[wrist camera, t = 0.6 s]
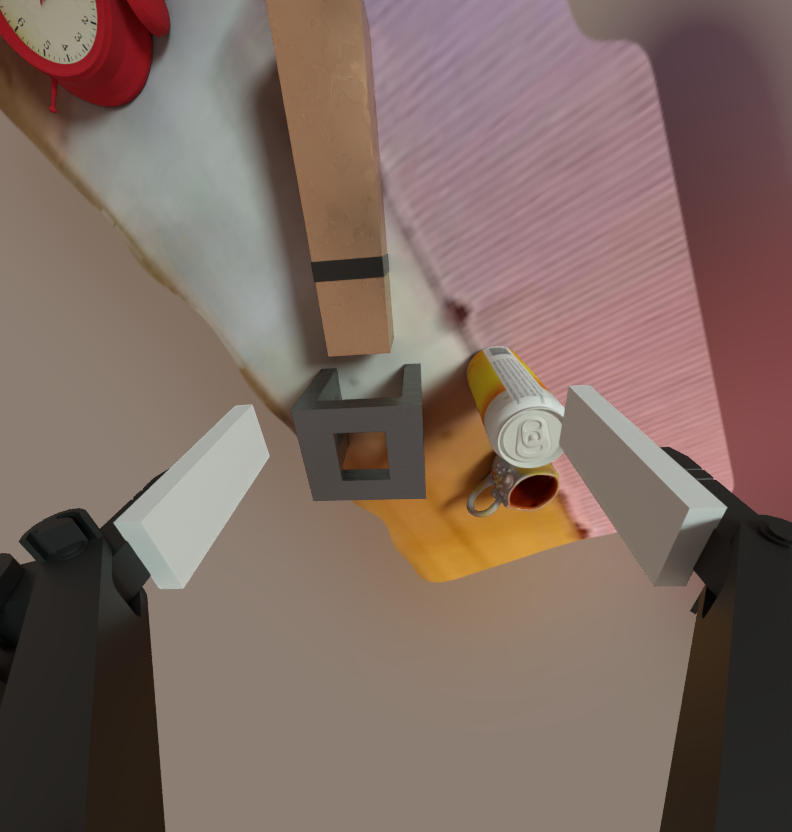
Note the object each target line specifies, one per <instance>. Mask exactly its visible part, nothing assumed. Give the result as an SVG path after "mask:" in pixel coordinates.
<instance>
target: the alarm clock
mask: <svg viewBox="0 0 792 832" xmlns="http://www.w3.org/2000/svg"><path fill="white" fill-rule="evenodd" d="M169 29H170V18H169V13H168V9H167V6H166V3H165V0H0V34H1V36H2V37H3V38H4V39H5V40H6V42H7V43H8V44H9V45H10V46H11V47H12V48H13V49H14V50H15V51H16V52H17V53H18V54H19V55H20V56H21V57H23V58H24V59H25V60H26V61H27V62H28V63H30V64H31V65H32V66H33V67H35V68H36V69H38V70H39V71H41V72H43V73H44V74H46V75H48V76H50V77H51V78H52V87H51V93H52V99H51V106H49V109H50V111H51V112H53V113H57V110H56V109H55V102H56V96H57V84H58V83H59V84H60V85H61V86H63V87H64V88H65V89H66V90H68V91H69V92H71V93H72V94H74V95H75V96H77V97H79V98H81V99H83V100H85V101H87V102H90V103H92V104H95V105H99V106H105V107H115V106H120V105H123V104H126V103H128V102H129V101H131V100H132V99H133V98H135V97H136V96H137V95H138V94H139V92H140V91H141V90H142V88H143V87H144V85H145V82H146V80H147V77H148V75H149V71H150V65H151V58H152V40H151V33H152V34H154V35H155V36H157V37H161V36H165V35H166V34H167V33H168V32H169Z"/></svg>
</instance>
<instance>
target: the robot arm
mask: <svg viewBox="0 0 792 832" xmlns="http://www.w3.org/2000/svg"><path fill="white" fill-rule="evenodd" d="M559 445H560V447H561V448H562V450H563V451H564V453H565V454H566V456H567V457H568V459H569V460H570V462H571V463H572V465H573V466H574V468H575V469H576V471H577V472H578V473H579V475H580V476H581V478H582V479H583V481H584V482H585V484H586V485H587V487H588V488H589V490H590V491H591V493H592V494H593V496H594V497H595V499H596V500H597V502H598V503H599V505H600V506H601V508H602V509H603V511H604V512H605V514H606V515H607V517H608V518H609V520H610V521H611V523H612V524H613V526H614V527H615V529H616V530H617V532H618V533H619V535H620V536H621V538H622V539H623V540H624V542H625V543H626V545H627V546H628V548H629V550H630V551H631V553H632V554H633V555H634V557H635V559H636V560H637V561H638V563H639V564H640V566H641V567H642V569H643V570H644V572H645V573H646V575H647V576H648V578H649V579H650V581H651V582H652V584H653V585H654V586H686V584H687V583H688V581H689V579H690V577H691V575H692V573H693V571H695V572H696V573H697V575H698V576H699V577H700V578H701V580H702V581H703V582H704V583H705V586H704V588H703V590H702V591H701V593H700V595H699V597H698V598H697V600H696V602H695V603H694V605H693V607H692V609H691V612H693V613H695V614H696V613H697V616H696V622H695V628H694V634H693V640H692V645H691V651H690V657H689V663H688V669H687V675H686V681H685V686H684V692H683V698H682V705H681V711H680V716H679V722H678V728H677V733H676V739H675V745H674V751H673V757H672V763H671V768H670V774H669V780H668V786H667V792H666V798H665V803H664V809H663V815H662V821H661V827H660V832H792V522H789V521H787V520H784V519H781V518H777V517H773V516H768V515H758V514H757V513H756V512H754V511H753V510H752V509H751V508H749V507H748V506H747V505H746V504H745V503H743V502H742V501H741V500H740V499H739V498H737V497H736V496H735V495H734V494H733V493H731V492H730V491H729V490H728V489H727V488H725V487H724V486H723V485H722V484H721V483H719V482H718V481H717V480H713V477H712V476H711V475H710V474H708V473H707V472H706V471H705V470H702V468H701V467H700V466H699V465H698V464H696V463H695V462H694V461H693V460H692V459H690V458H689V457H688V456H686V455H684V454H682V453H680V452H678V451H676V450H674V449H672V448H670V447H659V446H658V445H656V444H655V443H654V442H653V441H652V440H651V439H650V438H649V437H647V436H646V435H645V434H644V433H643V432H642V431H641V430H640V429H638V428H637V427H636V426H635V425H634V424H633V423H632V422H631V421H629V420H628V419H627V418H626V417H625V416H624V415H623V414H621V413H620V412H619V411H618V410H617V409H616V408H615V407H614V406H612V405H611V404H610V403H609V402H608V401H607V400H606V399H605V398H603V397H602V396H601V395H600V394H599V393H598V392H597V391H596V390H594V389H593V388H592V387H591V386H590V385H578V386H569V388H568V394H567V399H566V405H565V411H564V416H563V422H562V428H561V433H560V439H559ZM269 457H270V455H269V452H268V449H267V447H266V444H265V440H264V438H263V435H262V432H261V429H260V426H259V423H258V420H257V417H256V414H255V411H254V408H253V405H252V404H251V405H236V406H234V407H233V409H231V410H230V411H229V412H228V413H227V414H226V415H225V416H224V417H223V418H222V419H221V420H220V421H219V422H218V423H217V424H216V425H215V426H214V427H213V428H211V429H210V430H209V431H208V432H207V433H206V434H205V435H204V436H203V437H202V438H201V439H200V440H199V441H198V442H197V443H196V444H195V445H194V446H193V447H192V448H191V449H190V450H189V451H188V452H187V453H185V454H184V455H183V456H182V457H181V459H179V460H178V461H177V462H176V463H175V464H174V465H173V466H172V467H171V468H169V469H168V470H166V471H164V472H163V473H161V474H160V475H158V476H156V477H155V478H154V479H152V480H151V481H150V482H149V483H148V484H147V485H146V486H145V487H144V488H143V491H140V492H139V493H138V494H136V495H135V496H134V498H133V500H130V501H129V502H128V503H127V504H126V505H125V506H124V507H123V508H122V509H121V510H119V511H118V512H117V513H116V514H115V515H114V516H113V517H112V518H111V519H110V520H109V521H108V522H107V523H106V524H105V525H104V526H102V527H101V528H100V529H99V528H98V526H97V525H96V523H95V522H94V521H93V519H92V518H91V517H90V516H89V514H88V513H87V511H86V510H84V509H80V508H78V509H69V510H66V511H63V512H60V513H57V514H55V515H53V516H50V517H48V518H46V519H44V520H43V521H41V522H39V523H38V524H36V525H35V526H33V527H32V528H31V529H29V530H28V531H27V532H26V533H25V534H24V535H23V536H22V537H21V539H20V540H19V542H20V544H21V545H22V546H23V547H24V548H25V549H26V550H27V551H28V552H29V553H30V554H31V555H32V557H33V558H34V559H35V560H36V561H33V562H29V563H25V564H22V565H20V564H19V563H18V562H17V561H16V560H15V559H14V558H13V556H11V554H7V553H1V554H0V832H165V821H164V808H163V795H162V782H161V770H160V756H159V743H158V730H157V718H156V705H155V691H154V678H153V666H152V654H151V653H152V652H151V639H150V627H149V614H148V601H147V594H146V592H145V590H144V589H143V587H142V586H143V585H144V584H145V582H146V581H147V580H148V579H149V577H150V576H151V578H152V579H153V580H154V582H155V583H156V585H157V586H158V587H159V589H184V587H185V585H186V584H187V582H188V581H189V579H190V578H191V576H192V575H193V573H194V572H195V570H196V569H197V567H198V565H199V564H200V563H201V561H202V559H203V558H204V556H205V555H206V553H207V552H208V550H209V549H210V547H211V546H212V544H213V543H214V541H215V540H216V538H217V537H218V535H219V533H220V532H221V530H222V529H223V527H224V526H225V524H226V523H227V521H228V519H229V518H230V517H231V515H232V514H233V512H234V510H235V509H236V507H237V506H238V504H239V503H240V501H241V500H242V498H243V496H244V495H245V494H246V492H247V491H248V489H249V487H250V486H251V484H252V483H253V481H254V480H255V478H256V477H257V475H258V474H259V472H260V471H261V469H262V468H263V466H264V465H265V463H266V461H267V460H268V458H269Z"/></svg>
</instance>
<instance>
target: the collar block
mask: <svg viewBox="0 0 792 832" xmlns="http://www.w3.org/2000/svg"><path fill="white" fill-rule="evenodd" d="M291 413H292V417H293V421H294V425H295V429H296V433H297V437H298V441H299V445H300V449H301V453H302V457H303V461H304V465H305V469H306V473H307V477H308V481H309V484H310V488H311V492H312V496H313V500H314V501H329V500H330V501H333V500H383V499H426V486H425V459H424V434H423V411H422V388H421V365H420V364H405V367H404V378H403V389H402V397H394V398H372V399H351V400H342V397H341V391H340V385H339V379H338V373H337V368H331V369H321V371H320V372H319V373H318V375H317V376H316V377H315V379H314V380H313V381H312V383H311V384H310V386H309V387H308V388H307V390H306V391H305V392H304V394H303V395H302V396H301V398H300V399H299V400H298V402H297V403H296V405H295V406H294V407H293V409H292V410H291ZM384 431H385V435H386V444H387V454H388V463H389V469H360V470H343V466H342V465H343V462H344V458H345V455H346V452H347V449H348V446H349V439H348V433H358V432H384Z"/></svg>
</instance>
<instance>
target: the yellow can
mask: <svg viewBox="0 0 792 832" xmlns="http://www.w3.org/2000/svg"><path fill="white" fill-rule="evenodd" d="M467 380H468V383H469V386H470V389H471V392H472V394H473V397H474V400H475V403H476V405H477V408H478V411H479V414H480V416H481V419H482V422H483V425H484V427H485V430H486V433H487V436H488V438H489V441H490V444H491V446H492V448H493V450H494V451H495V452H496V453H497V454H498V455H499V456H500V457H501V458H503V459H505V460H506V461H507V462H508V463H510V464H512V465H514V466H517V467H521V468H536V467H541V466H544V465H547V464H549V463H551V462H552V461H554V460H556V459H557V458H558V457H559V456H560V455H561V454H562V453H563V452H564V451H563V450H562V448H561V447H560V445H559V439H560V433H561V428H562V422H563V416H564V411H565V408H564V407H563V406H562V405H561V404H560V403H559V401H558V400H557V399H556V398H555V397H554V396H553V395H552V394H551V392H550V391H549V390H548V389H547V388H546V387H545V386H544V384H543V383H542V382H541V381H540V380H539V379H538V378H537V377H536V375H535V374H534V373H533V372H532V371H531V370H530V369H529V367H528V366H527V365H526V364H525V363H524V362H523V361H522V360H521V358H520V357H519V356H518V355H517V354H516V353H515V352H514V351H513V350H511V349H509V348H507V347H503V346H492V347H488V348H485V349H483V350H482V351H480V352H479V353H477V354H476V355H475V356H474V357H473V358H472V360H471V361H470V363H469V366H468V369H467Z"/></svg>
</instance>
